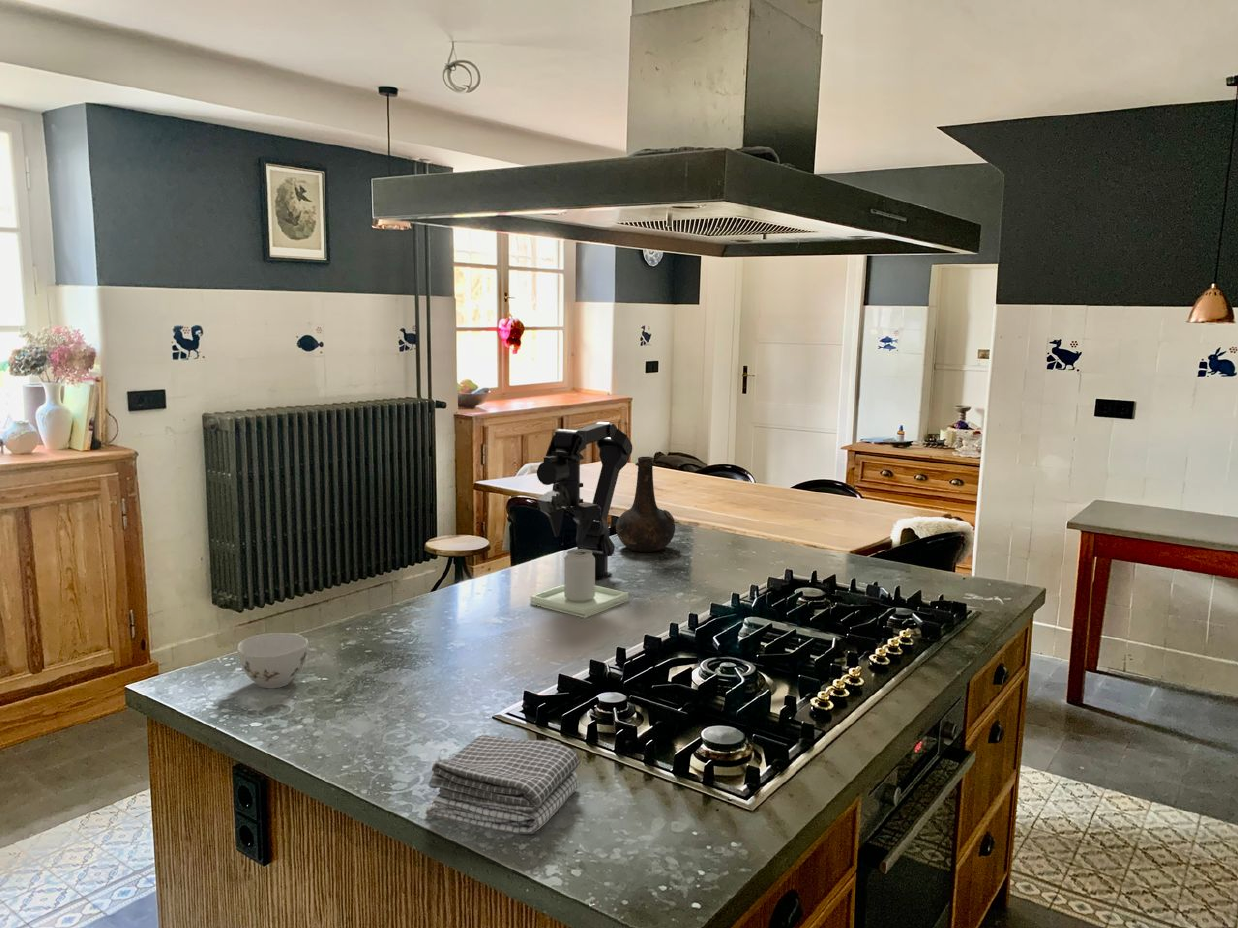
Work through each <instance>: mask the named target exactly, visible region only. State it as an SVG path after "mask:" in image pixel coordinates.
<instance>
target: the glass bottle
mask: <svg viewBox="0 0 1238 928" xmlns="http://www.w3.org/2000/svg"><path fill="white" fill-rule="evenodd" d="M653 460H654V458H653V457H652V456H639V457H637V461H638V462H636V463H634V465H635V466H637V474H636V475H637V477H636V486H635V494H634V498H633V504H632V505H631V507H630V508H629V509H627V510H625V511H624V512H622V514H620V516H619V517H618V518H617V520H616V524H615V531H616V534H617V537H618V539H619V540H620V542H621V543H622V544H623V546H625V547H626V548H627V549H630V550H632V551H636V552H641V553H650V552H658V551H659V550H660V551H661V550H662V549H665V548H666V547H667V546H668V545H669V544H670V543H671V542H672V540H673V538H674V536H675V534H676V533H675V532H676V523H675V521H676V520H675V518H674V516H673V515H672V514H671V513H670V512H669V511H668V510H666V509H660V508H659V507H658V505H657V503H656V497H655V489H654V475H653V472H654V470H653V467H654V466H656V463H655V462H653Z"/></svg>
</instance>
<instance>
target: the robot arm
mask: <svg viewBox="0 0 1238 928" xmlns="http://www.w3.org/2000/svg"><path fill="white" fill-rule="evenodd" d="M592 443H595V445H596V446H597V448H598V450H599V452H598V453H599V454H598V456H599V459H600V462H601V467H600V468H601V469H600V472H599V477H598V480H597V484H596V489H595V492H594V495H593V499H592V503H591V502H585V503H584V498H580V497H581V490H580V488H584V482H580V481H581V461H582V460H584V456H583V454H581V453H582V452H583V451H584V450H586V449H587V445H589V444H592ZM632 452H633V444H632V441H631V440H630V438H629V437H628V435H627V434H625V433H624V432H622V431H621V430H620V429H619V428H618V427H617V425H616V424H615V423H614V422H611V421H609V422H607V421H598V422H596V423H593V424H590V425H587V426H583V427H580V428H577V429H572V428H571V429H570V428H569V429H567V428H566V429H565V428H558V429H556V431H554V434H553V435H552V438H551V440H550V443H549V446H548V448H547V451H546V453H545V456H543V462H541V463H539V465H538V467H537V468H536V469H537V470H536V476H537V477H536V478H537V479H538V481H539V482H540V483H541V484H542V485H543V486H544V485H545V486H549V485H552V489H551V490H549V491H547V492H546V493H544V494H542V495H541V496H539V497H538V498H537V501H536V502H537V507H536V508H538V509H540V512H542V513H544V514H545V515H546V516H547V518H548V520H549V523H550V525H551V529H552V532H553V534H554V537H559V536H560V534H561V530H562V523H563V518H564V513H565V510H566V511H570V512H571V511H572V514H573V516H574V517H572V519H573V521H574V522H575V523H576V535H575V543H576V547H577V548H576V549H586V550H590V551H592V555H593V556H594V557H595V581H598V580H602V579H604V578H608V577H611V576H613V573H612V572H608V571H609V570H608V564H609V562H608V560H609V559H608V558H609V557H612V556H613V555H614V553H615V547H616V546H615V544H614V543H613V541H612V539H611V538H610V533H611V531H610V528H609V524H608V521H607V520H608V517H609V514H610V508H611V506H612V501H613V497H614V495H615V494H614V493H615V489H616V485H617V483H618V478H619V474H620V471H621V470H622V469H623V468H624V467H625V466H626V465H627V464H628V463H629V460H630V456H631V455H632Z"/></svg>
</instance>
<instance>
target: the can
mask: <svg viewBox="0 0 1238 928" xmlns="http://www.w3.org/2000/svg"><path fill="white" fill-rule="evenodd" d="M566 554H567V555H565V556H564V561H563V562H564V563H563V564H564V567H563V568H564V571H563V572H564V577H563V579H564V582H563V583H564V584H563V585H564V596H565V597H566V598H567V599H568V600H569V601H571V602H577V603H582V602H588V601H591V599H592V598H593V597H594V596H595V585H596V579H595V557H594V556H593V555H592V551H590V550H586V549H578V548H575V549H570V550H568V551H566Z"/></svg>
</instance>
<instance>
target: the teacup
mask: <svg viewBox="0 0 1238 928" xmlns="http://www.w3.org/2000/svg"><path fill="white" fill-rule="evenodd" d="M308 648H309V640H308V638H307V637H303V636H302V635H301V634H297V633H294V632H293V633H292V632H288V633H287V632H286V633H285V632H284V633H283V632H280V633H279V632H277V633H276V632H275V633H274V632H273V633H271V632H269V633H262V634H256V635H254V636H250V637H247V638H245V639H243V640H242V641H240V642H239V643H238V644H237V655H238V658H239V662H240V665H241V668H242V669H243V671H244V673H245V674H246V675H247V677H248V678H249V679H250V680H251V681H253V682H254V683H255V684H256V685H257V686H258V687H260V688H263V689H279V688H282V687H286V686H287V685H289V684H290V682H291V681H292V680H293V679H294V678H295V677H296V676H297V674H298V673H299V672H301V669H302V667H303V665H304V664H305V661H306V658H307V654H308Z"/></svg>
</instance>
